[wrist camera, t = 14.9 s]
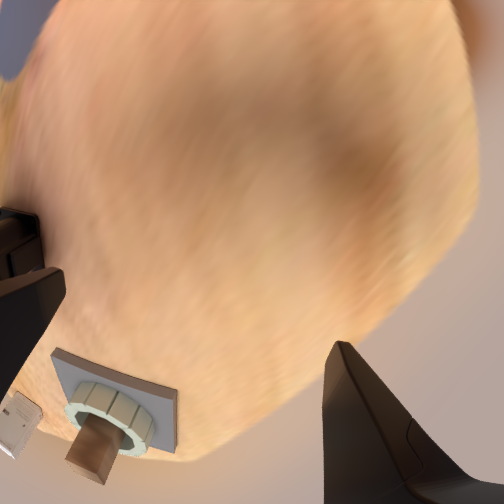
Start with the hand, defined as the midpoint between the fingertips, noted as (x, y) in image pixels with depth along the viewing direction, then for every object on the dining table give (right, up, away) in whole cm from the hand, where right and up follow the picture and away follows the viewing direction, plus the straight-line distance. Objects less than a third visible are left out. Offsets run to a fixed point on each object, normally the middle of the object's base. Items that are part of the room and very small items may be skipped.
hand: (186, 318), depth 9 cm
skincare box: (-40, -26, +31) cm, 57 cm away
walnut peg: (-15, -18, +23) cm, 33 cm away
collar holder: (-15, -18, +24) cm, 34 cm away
